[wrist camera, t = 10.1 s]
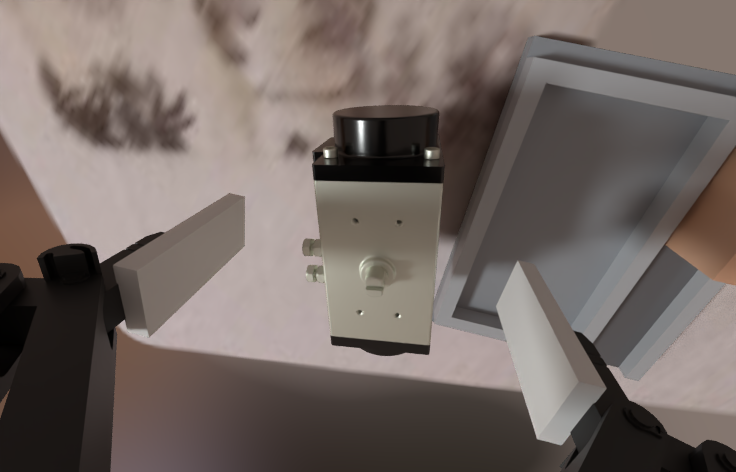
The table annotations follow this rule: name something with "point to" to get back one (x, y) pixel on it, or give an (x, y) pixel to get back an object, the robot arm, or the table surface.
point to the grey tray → (594, 197)
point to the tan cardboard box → (711, 227)
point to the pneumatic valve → (379, 226)
